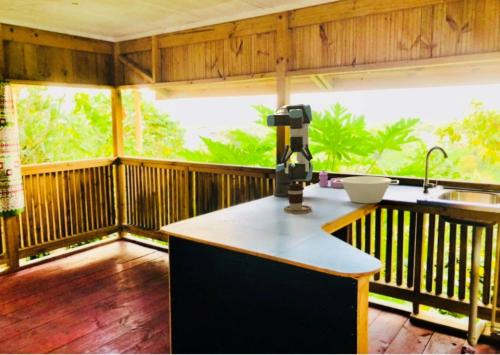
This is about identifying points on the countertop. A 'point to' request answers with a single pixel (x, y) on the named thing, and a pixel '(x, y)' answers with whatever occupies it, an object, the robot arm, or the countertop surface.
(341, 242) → the countertop surface
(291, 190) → the coffee cup
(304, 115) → the robot arm
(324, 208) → the countertop surface
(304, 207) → the round tray
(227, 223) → the countertop surface
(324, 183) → the container set
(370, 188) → the pot
